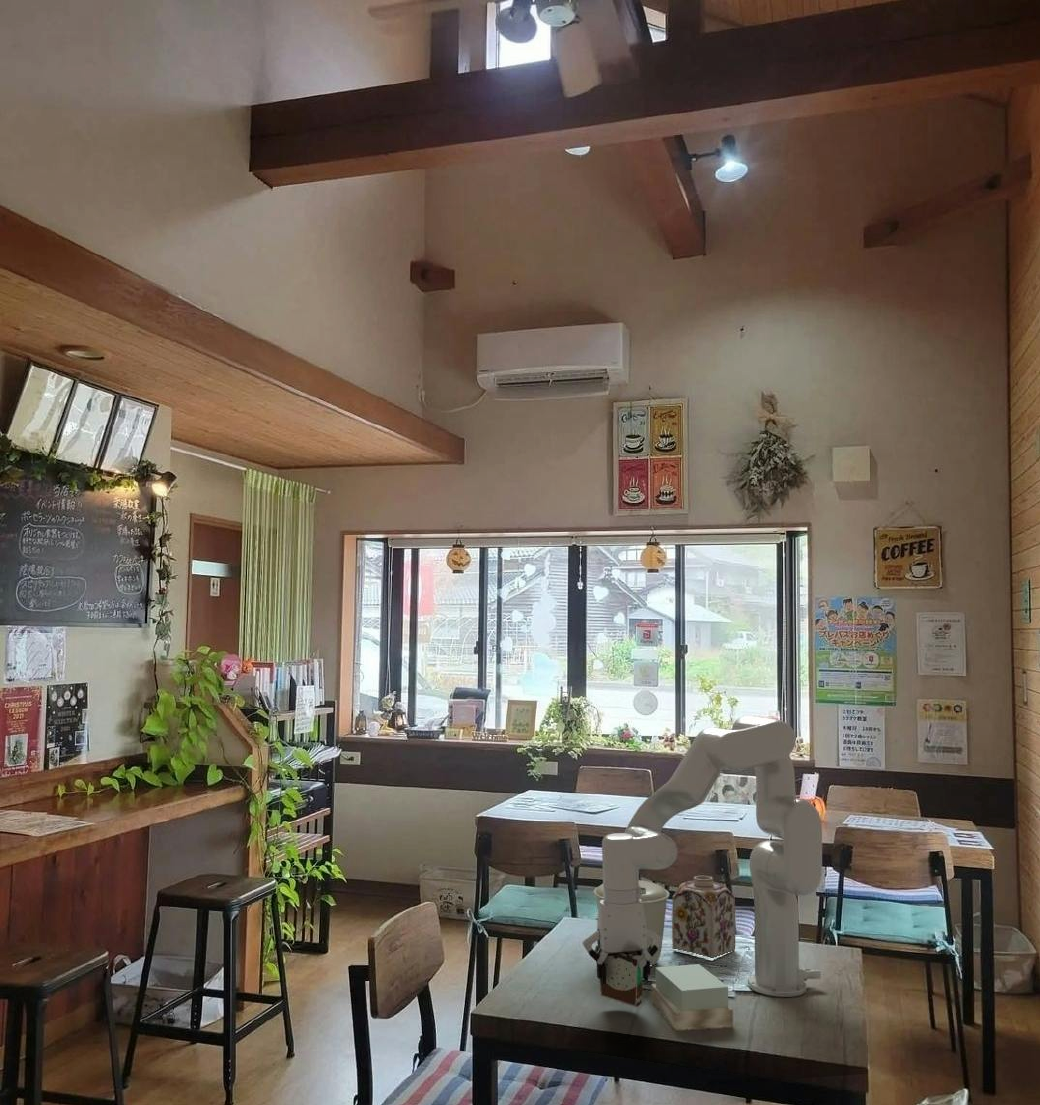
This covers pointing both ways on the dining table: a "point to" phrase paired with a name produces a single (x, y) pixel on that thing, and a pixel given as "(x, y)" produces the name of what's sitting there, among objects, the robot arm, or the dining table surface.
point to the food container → (624, 977)
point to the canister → (649, 910)
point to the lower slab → (691, 1014)
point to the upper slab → (691, 987)
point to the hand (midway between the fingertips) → (623, 979)
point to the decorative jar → (703, 918)
